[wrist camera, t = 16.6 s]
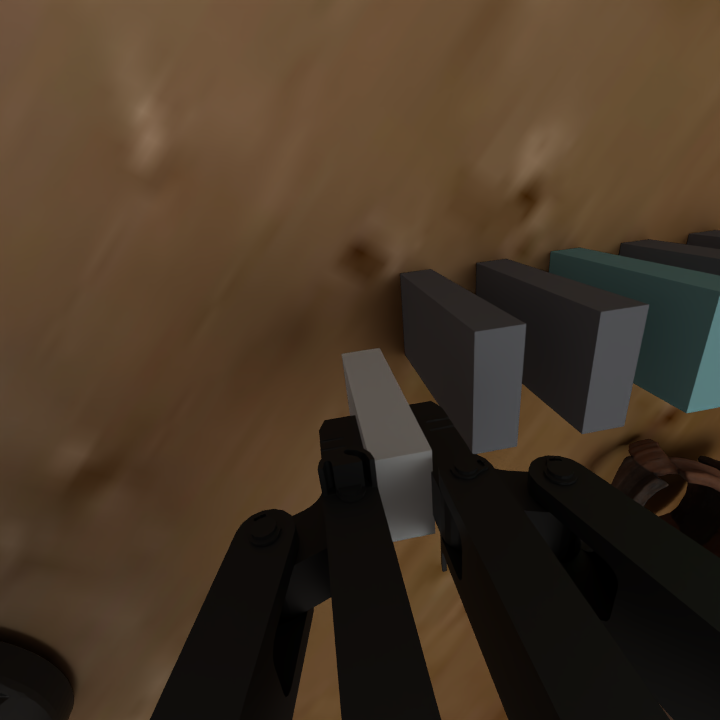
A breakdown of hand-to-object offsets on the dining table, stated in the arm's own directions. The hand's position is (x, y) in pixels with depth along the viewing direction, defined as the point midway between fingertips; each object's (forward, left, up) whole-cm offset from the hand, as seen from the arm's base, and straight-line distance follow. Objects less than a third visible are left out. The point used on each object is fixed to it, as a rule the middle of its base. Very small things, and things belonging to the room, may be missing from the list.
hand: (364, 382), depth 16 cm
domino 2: (+9, 0, -8) cm, 12 cm away
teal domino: (+13, 0, -8) cm, 16 cm away
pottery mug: (+25, -17, -9) cm, 32 cm away
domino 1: (+4, 0, -8) cm, 9 cm away
